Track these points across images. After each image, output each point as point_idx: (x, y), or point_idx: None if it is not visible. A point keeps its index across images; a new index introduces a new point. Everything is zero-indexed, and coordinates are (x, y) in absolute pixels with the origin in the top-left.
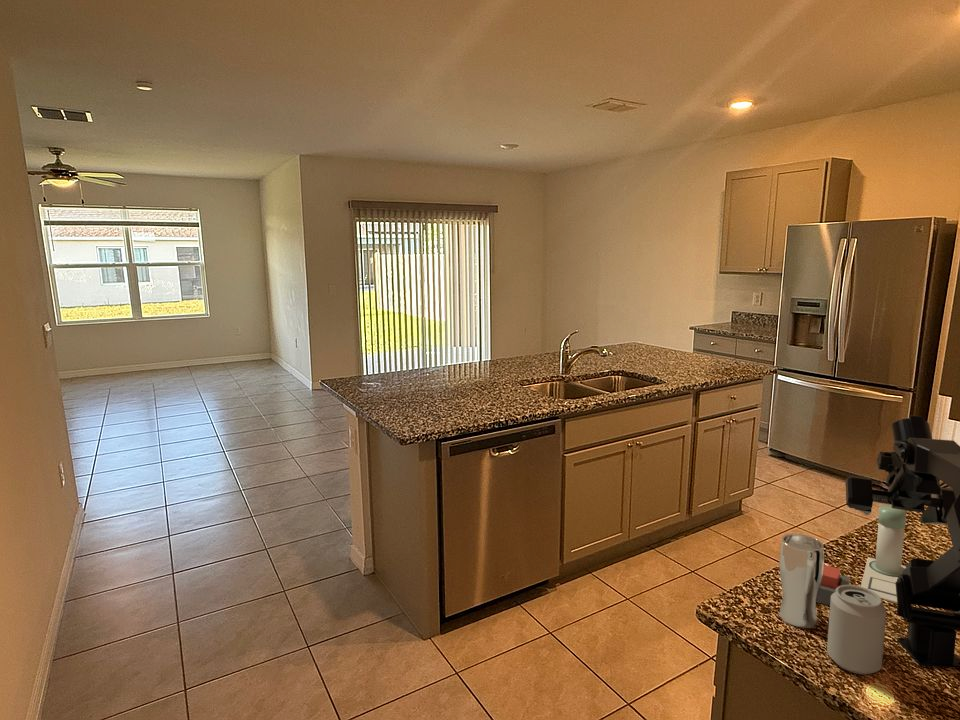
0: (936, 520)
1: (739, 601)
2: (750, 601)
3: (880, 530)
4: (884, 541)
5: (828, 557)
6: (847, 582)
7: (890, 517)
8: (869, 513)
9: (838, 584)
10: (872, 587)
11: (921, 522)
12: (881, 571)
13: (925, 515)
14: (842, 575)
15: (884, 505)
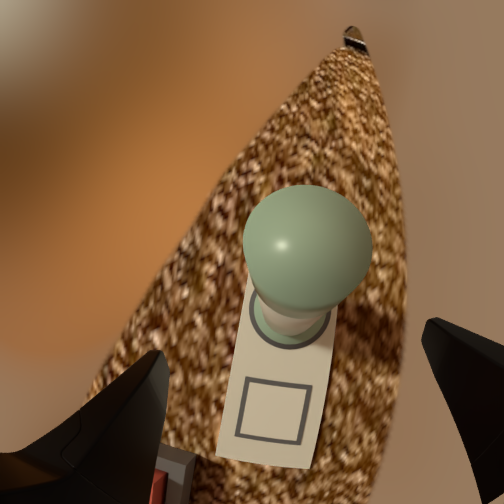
0: (485, 495)
1: None
2: None
3: (260, 299)
4: (275, 320)
5: (165, 299)
6: (179, 488)
7: (294, 308)
8: (150, 480)
9: (164, 486)
10: (244, 430)
11: (427, 353)
12: (273, 335)
13: (467, 382)
14: (168, 461)
15: (273, 197)
